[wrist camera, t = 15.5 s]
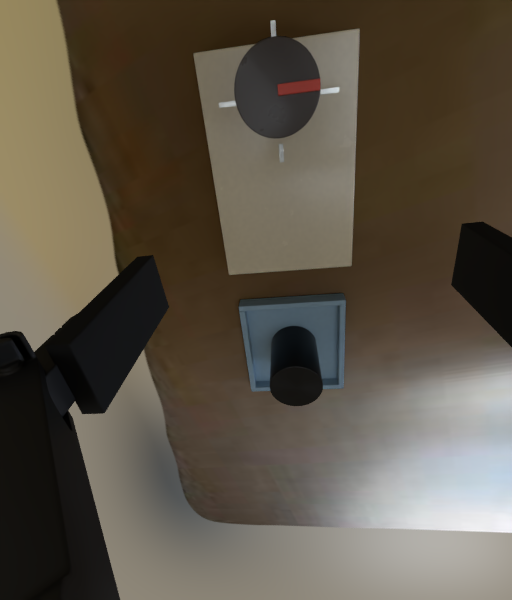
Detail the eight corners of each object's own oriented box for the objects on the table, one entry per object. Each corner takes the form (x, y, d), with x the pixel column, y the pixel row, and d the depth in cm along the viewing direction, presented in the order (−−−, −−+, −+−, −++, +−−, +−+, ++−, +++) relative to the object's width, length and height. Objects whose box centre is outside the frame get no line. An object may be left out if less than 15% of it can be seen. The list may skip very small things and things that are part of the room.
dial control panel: (196, 40, 25) (189, 33, 23) (355, 15, 24) (361, 6, 22) (231, 267, 34) (228, 275, 32) (348, 258, 33) (352, 267, 31)
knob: (249, 137, 26) (239, 143, 20) (241, 62, 24) (227, 41, 18) (311, 130, 26) (322, 133, 19) (309, 52, 23) (320, 27, 17)
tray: (240, 299, 36) (238, 306, 35) (343, 292, 35) (345, 300, 33) (252, 382, 42) (251, 391, 40) (341, 379, 41) (343, 388, 39)
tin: (269, 326, 37) (267, 367, 31) (315, 324, 36) (322, 365, 30) (273, 362, 40) (271, 407, 33) (316, 360, 39) (323, 405, 33)
